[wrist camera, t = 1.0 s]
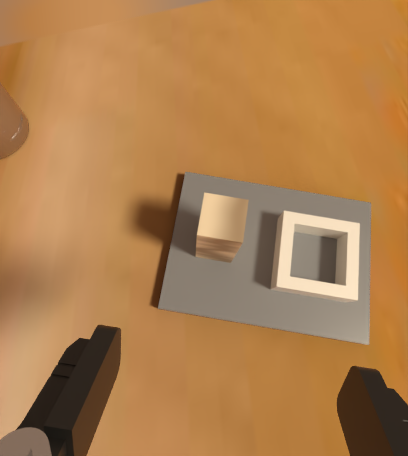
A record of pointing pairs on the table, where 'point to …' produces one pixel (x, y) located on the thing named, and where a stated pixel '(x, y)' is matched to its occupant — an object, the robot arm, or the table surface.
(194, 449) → the table surface
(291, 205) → the jig board
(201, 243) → the block
